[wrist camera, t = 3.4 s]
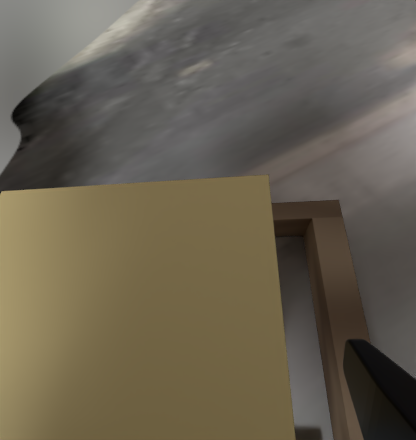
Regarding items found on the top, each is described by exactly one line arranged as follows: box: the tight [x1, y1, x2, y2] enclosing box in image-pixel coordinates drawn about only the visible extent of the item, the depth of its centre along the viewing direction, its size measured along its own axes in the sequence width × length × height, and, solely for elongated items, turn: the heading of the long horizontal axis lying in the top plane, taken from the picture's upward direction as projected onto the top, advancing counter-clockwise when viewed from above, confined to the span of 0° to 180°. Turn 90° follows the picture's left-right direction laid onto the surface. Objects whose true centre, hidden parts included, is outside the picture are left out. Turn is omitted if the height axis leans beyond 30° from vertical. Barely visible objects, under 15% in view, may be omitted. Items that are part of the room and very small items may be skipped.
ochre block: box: [0, 175, 296, 440], centre depth 9 cm, size 5×5×12 cm
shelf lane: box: [271, 200, 371, 440], centre depth 14 cm, size 12×14×2 cm
